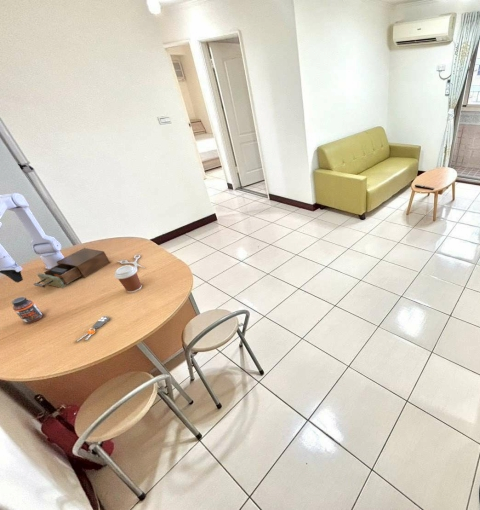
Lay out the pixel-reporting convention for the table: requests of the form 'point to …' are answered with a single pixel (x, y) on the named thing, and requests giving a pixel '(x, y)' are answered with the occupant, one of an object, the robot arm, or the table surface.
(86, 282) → the table surface
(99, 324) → the key chain
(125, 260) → the scissors
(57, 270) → the black block with tab
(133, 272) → the coffee cup
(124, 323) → the table surface
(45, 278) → the drawer
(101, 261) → the cabinet
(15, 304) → the supplement bottle
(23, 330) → the table surface
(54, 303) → the table surface
